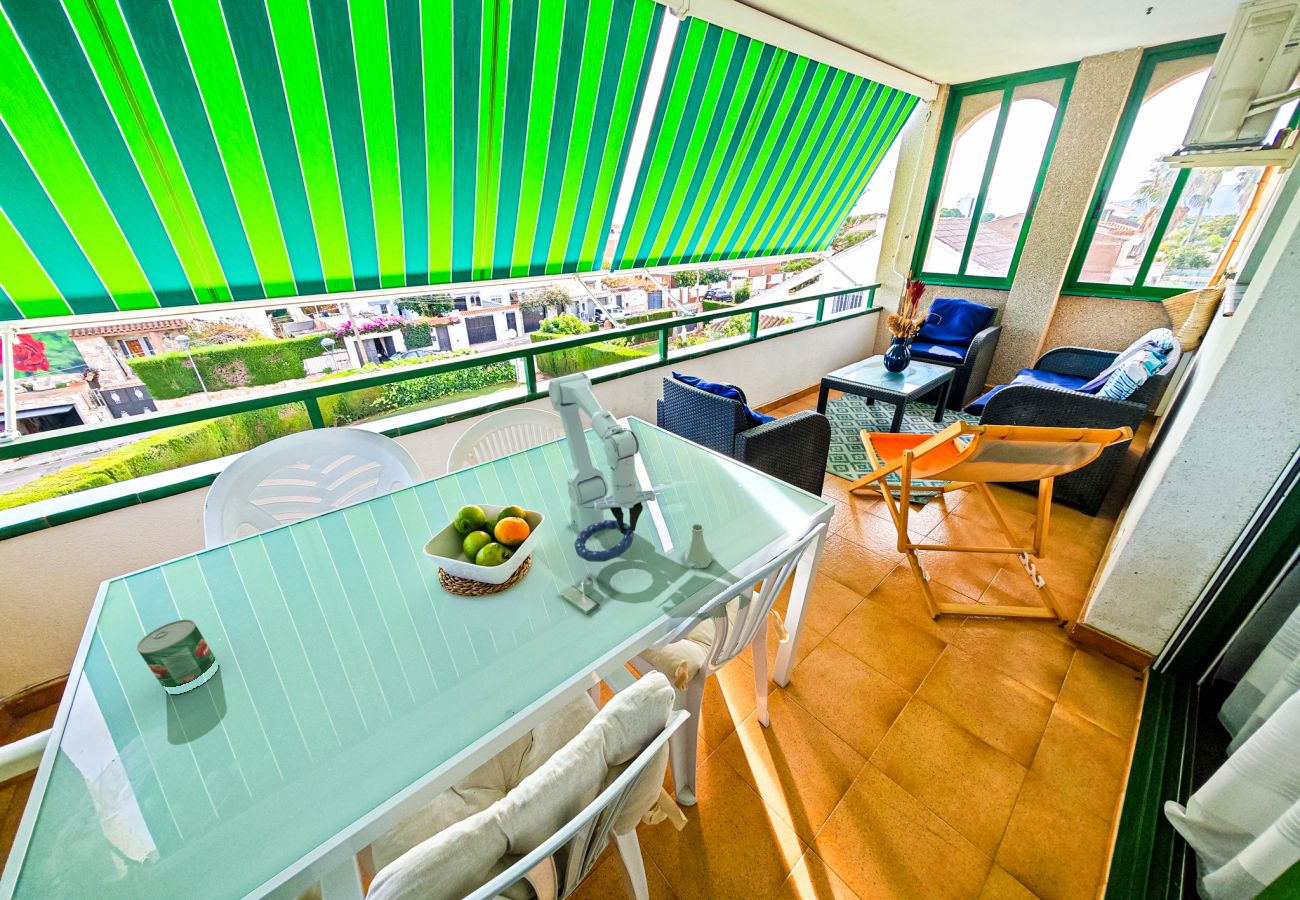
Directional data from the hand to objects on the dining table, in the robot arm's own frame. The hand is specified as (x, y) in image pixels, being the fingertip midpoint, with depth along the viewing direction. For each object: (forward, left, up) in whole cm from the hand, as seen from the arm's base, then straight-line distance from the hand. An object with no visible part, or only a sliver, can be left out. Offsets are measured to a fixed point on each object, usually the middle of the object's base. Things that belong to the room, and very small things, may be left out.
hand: (627, 530), depth 112 cm
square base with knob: (+1, -15, -10) cm, 18 cm away
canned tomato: (-42, -79, -10) cm, 90 cm away
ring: (-3, -5, -1) cm, 6 cm away
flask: (+13, +11, -10) cm, 20 cm away
